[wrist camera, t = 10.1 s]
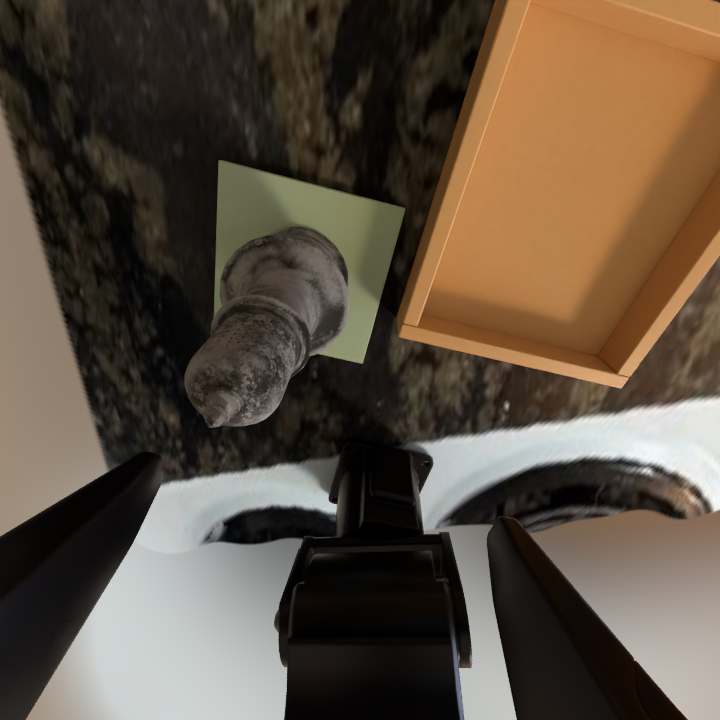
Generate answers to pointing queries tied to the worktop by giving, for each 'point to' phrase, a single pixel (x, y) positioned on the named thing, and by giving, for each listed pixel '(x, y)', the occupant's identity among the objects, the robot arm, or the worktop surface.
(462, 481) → the worktop surface
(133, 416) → the worktop surface
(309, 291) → the stone finial
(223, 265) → the mat
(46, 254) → the worktop surface
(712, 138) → the tray
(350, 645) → the robot arm
